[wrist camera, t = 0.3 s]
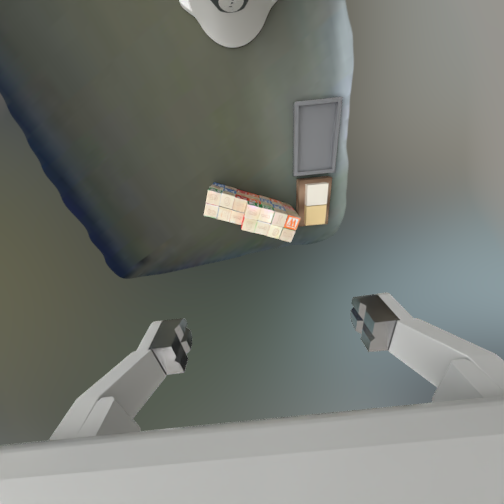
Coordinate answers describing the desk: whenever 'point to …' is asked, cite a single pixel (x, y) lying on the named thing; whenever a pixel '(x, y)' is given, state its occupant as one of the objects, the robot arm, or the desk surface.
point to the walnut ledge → (301, 196)
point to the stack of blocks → (252, 212)
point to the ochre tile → (314, 214)
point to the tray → (315, 135)
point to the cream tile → (316, 193)
